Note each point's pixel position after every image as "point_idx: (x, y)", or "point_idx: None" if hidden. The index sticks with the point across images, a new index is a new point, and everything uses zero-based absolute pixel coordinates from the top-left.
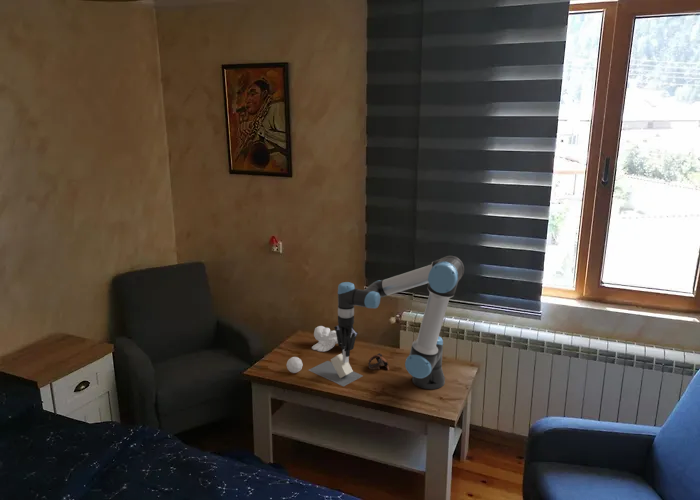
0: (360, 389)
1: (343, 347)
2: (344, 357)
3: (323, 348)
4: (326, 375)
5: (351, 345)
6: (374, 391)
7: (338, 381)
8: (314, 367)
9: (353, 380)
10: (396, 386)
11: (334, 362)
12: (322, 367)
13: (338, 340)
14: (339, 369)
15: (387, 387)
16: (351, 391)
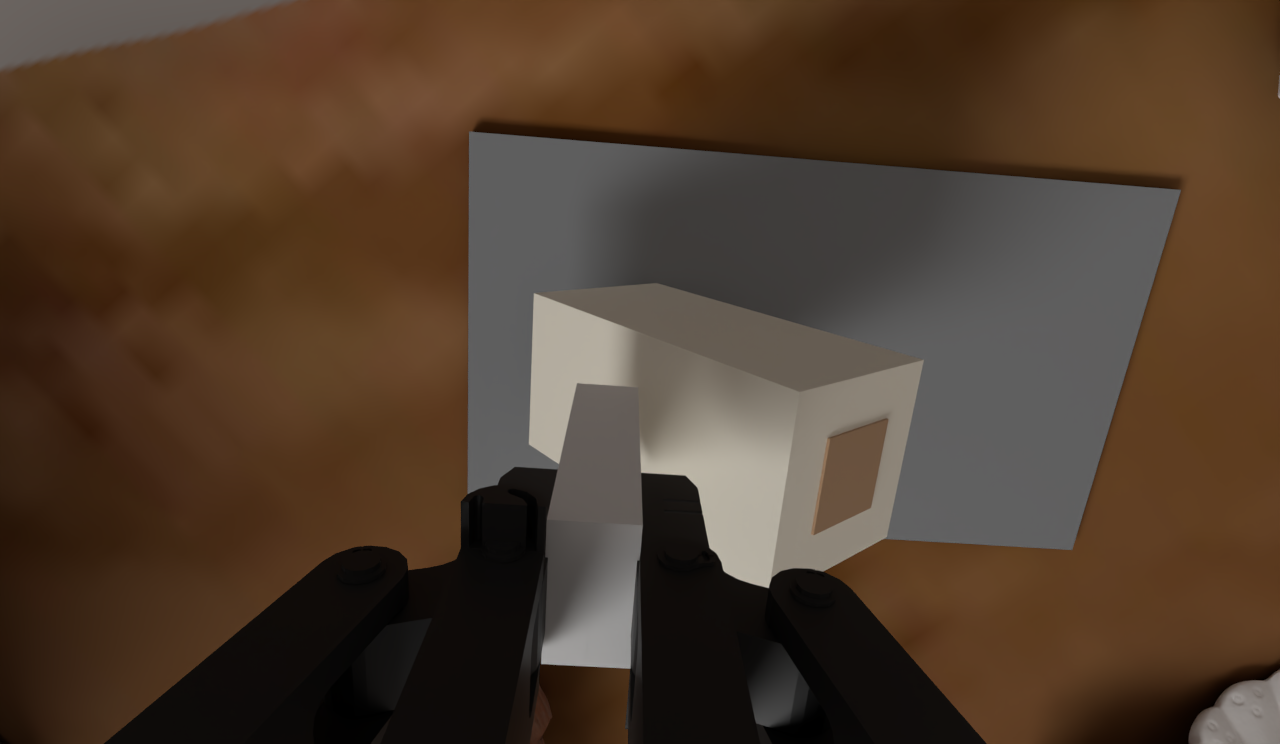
0: (264, 230)
1: (637, 592)
2: (581, 431)
3: (1274, 720)
4: (860, 232)
5: (174, 718)
6: (100, 301)
7: (618, 200)
8: (1132, 308)
9: (480, 348)
10: (20, 551)
11: (808, 344)
12: (1034, 373)
13: (918, 740)
14: (676, 314)
15: (70, 474)
16: (311, 106)
